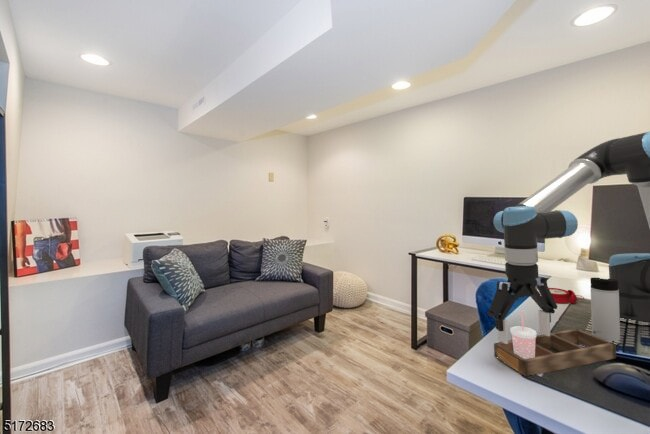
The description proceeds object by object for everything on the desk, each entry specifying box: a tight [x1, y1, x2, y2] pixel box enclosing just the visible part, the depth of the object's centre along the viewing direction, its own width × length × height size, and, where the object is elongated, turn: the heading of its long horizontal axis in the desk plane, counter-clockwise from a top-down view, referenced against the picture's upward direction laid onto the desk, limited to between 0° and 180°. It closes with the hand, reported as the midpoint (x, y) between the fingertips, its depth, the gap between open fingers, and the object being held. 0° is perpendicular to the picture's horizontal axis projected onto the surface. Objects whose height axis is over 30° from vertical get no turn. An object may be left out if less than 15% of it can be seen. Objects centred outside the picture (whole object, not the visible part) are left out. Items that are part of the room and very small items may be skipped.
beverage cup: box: [509, 312, 538, 359], centre depth 81 cm, size 6×6×14 cm
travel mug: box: [590, 277, 621, 341], centre depth 89 cm, size 6×7×20 cm
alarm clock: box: [540, 287, 585, 305], centre depth 125 cm, size 10×6×15 cm
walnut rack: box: [493, 328, 617, 377], centre depth 83 cm, size 30×10×4 cm, turn 101°
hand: (524, 338), depth 81 cm, fingers open, 13 cm apart
